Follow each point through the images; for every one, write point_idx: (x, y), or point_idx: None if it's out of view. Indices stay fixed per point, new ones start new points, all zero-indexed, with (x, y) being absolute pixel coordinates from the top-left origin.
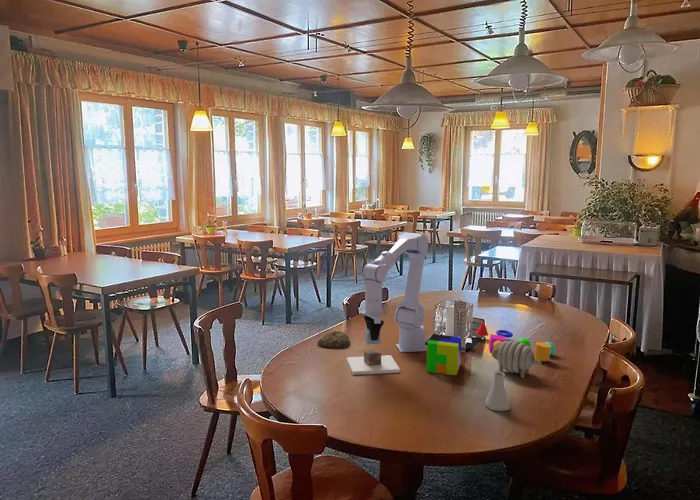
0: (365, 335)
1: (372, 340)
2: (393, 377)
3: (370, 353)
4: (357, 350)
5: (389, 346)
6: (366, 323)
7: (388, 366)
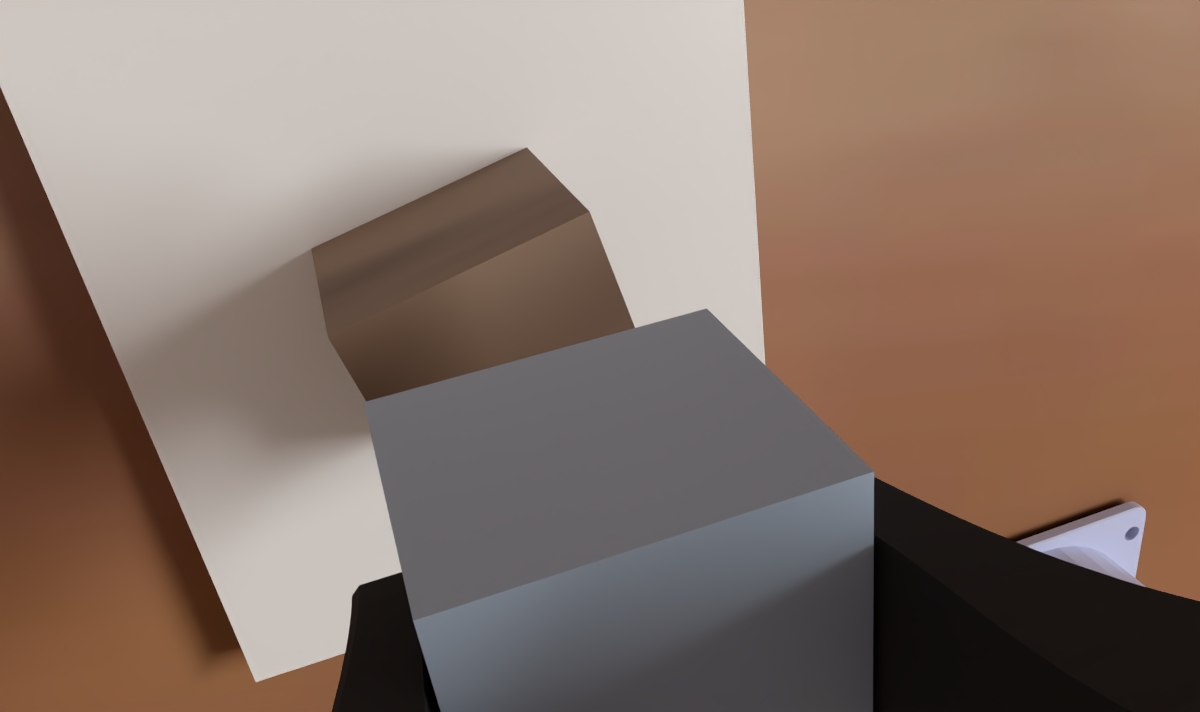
0: (692, 406)
1: (353, 609)
2: (38, 599)
3: (418, 353)
4: (1100, 8)
5: (1126, 430)
6: (1023, 639)
7: (340, 534)
